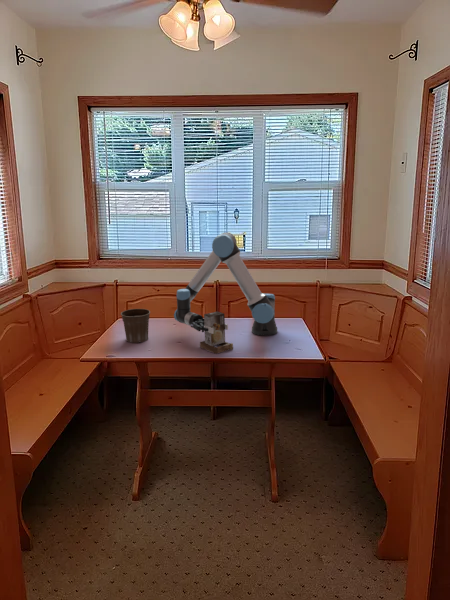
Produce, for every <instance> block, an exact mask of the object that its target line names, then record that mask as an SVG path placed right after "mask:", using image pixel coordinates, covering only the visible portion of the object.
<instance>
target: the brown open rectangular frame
mask: <svg viewBox="0 0 450 600" xmlns="http://www.w3.org/2000/svg"><path fill="white" fill-rule="evenodd" d="M199 348H201V349H203V350H206V351H208V352H210V353H213V354H216V355H217V354H220V353H224V352H227V351H230V350H231V351H232V350H234V343H232V342H231V343H230V342H227V341H225V343H221V344H217V345H216V346H215V345H213V346H210V345H208V344H206V343H205V340H203V341H199Z"/></svg>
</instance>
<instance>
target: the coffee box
mask: <svg viewBox="0 0 450 600" xmlns="http://www.w3.org/2000/svg"><path fill="white" fill-rule="evenodd" d="M203 318H204V326H208V327H211V328H213V330H214V334H212V333H209V332H206V331H204V341H205V343H206V344H208V345H210V346H218V345H217V344H221V343H225V342H226V329H225V324H226V322H225V319H226V317H225V312H224V313H223V312H220V311H214V312H208V313H204V314H203Z"/></svg>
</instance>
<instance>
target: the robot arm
mask: <svg viewBox="0 0 450 600" xmlns="http://www.w3.org/2000/svg"><path fill="white" fill-rule="evenodd" d="M237 242H238V241H237V239H236V236H234V234H232V233H231V232H222V233H221V234H217V235H216V237H214V239H213V241H212V243H211V248H212V251H211V252H210V254H209V256H207V258H206V259H205V260H204V262H203V263H202V264H201V266H200V267H199V269H198V271H196V273H195V275H194V276H193V277H192V279H191V280H190V281H189V282H188V284H187V286H186V287H185V288H180V289H177V290H176V307H177V308H176V310H175V311H174V314H173V319H175V321H176V322H179V323H181V324H184V325H187V326H190V328H193V329H195V330H196V331H197V332H202V333H205V331H206V332H209V333H212V334H214V330H213V328H211V327H208V326H204V316H202V314H199V313H195V312H192V311H191V302H192V301H193V300H194V299H195V298H196V296H197V295H198V294H199V292H200V290H201V289H202V288H203V286H204V285H205V283H206V282H207V281H208V280H209V279H210V277H211V276H212V275H213V273H214V271H215V270H216V269H217V268H218V266H219V265H220V264H221V263H224V264H226V266H227V268H228V269H229V271H230V273H231V274H232V277H234V280H235V281H236V283H237V285H238V286H239V288H240V290H241V292H242V293H243V294H244V296H245V298H246V300H247V305H246V306H248V308H249V311H250V312H251V316H252V319H253V322H252V323H253V324H252V326H251V333H253V334H254V335H256V336H265V337H266V336H272V335H273V336H274V335H277V333H278V326H277V323H276V320H275V317H276V315H275V313H276V311H275V310H276V309H275V308H276V307H275V305H276V297H275V296H276V295H275V294H273V293H262V291H261V290H260V287H259V286H258V285H257V282H256V281H255V279H254V277H253V276H252V274H251V273H250V271H249V269H248V267H247V265H246V264H245V263H244V261H243V259H242V257H241V256H240V255H241V250H240V249H239V247H238V245H237ZM226 330H229V324H227V323H225V331H226Z"/></svg>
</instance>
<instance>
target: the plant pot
mask: <svg viewBox="0 0 450 600" xmlns="http://www.w3.org/2000/svg"><path fill="white" fill-rule="evenodd" d="M150 314H151V311H150V310H149V309H146V308H130V309H126V310H123V311H121V312H120V315H121V318H122V322H123V327H124V332H125V333H124V334H125V338H126V339H125V340H126V342H128V343H131V344H138V343H144V342H146V341H148V340H149V322H150Z"/></svg>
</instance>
